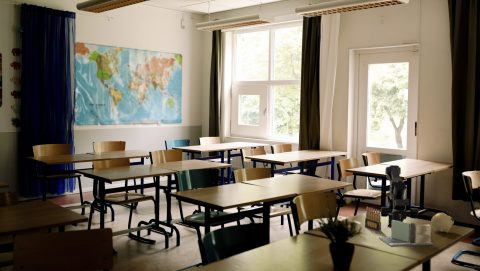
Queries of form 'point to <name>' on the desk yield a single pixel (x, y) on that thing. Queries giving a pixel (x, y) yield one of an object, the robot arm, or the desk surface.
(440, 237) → the desk surface
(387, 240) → the card
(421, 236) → the fixed fence panel
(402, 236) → the panel
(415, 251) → the desk surface
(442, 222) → the cream rounded piece
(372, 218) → the ammunition clip
